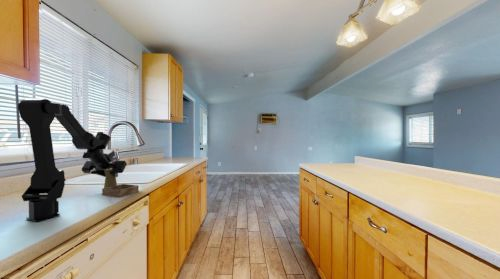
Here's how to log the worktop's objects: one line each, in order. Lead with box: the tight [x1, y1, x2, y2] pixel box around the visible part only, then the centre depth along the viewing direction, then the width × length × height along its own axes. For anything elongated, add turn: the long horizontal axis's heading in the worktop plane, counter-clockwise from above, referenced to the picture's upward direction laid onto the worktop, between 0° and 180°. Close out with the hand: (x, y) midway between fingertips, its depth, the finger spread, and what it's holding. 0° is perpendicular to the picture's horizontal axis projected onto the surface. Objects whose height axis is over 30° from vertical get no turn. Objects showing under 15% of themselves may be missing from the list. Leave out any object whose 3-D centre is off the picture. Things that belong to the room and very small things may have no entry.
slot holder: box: [101, 183, 139, 198], centre depth 104 cm, size 11×11×3 cm
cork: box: [103, 168, 118, 188], centre depth 110 cm, size 6×6×11 cm
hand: (112, 176), depth 112 cm, fingers closed on cork, 5 cm apart
